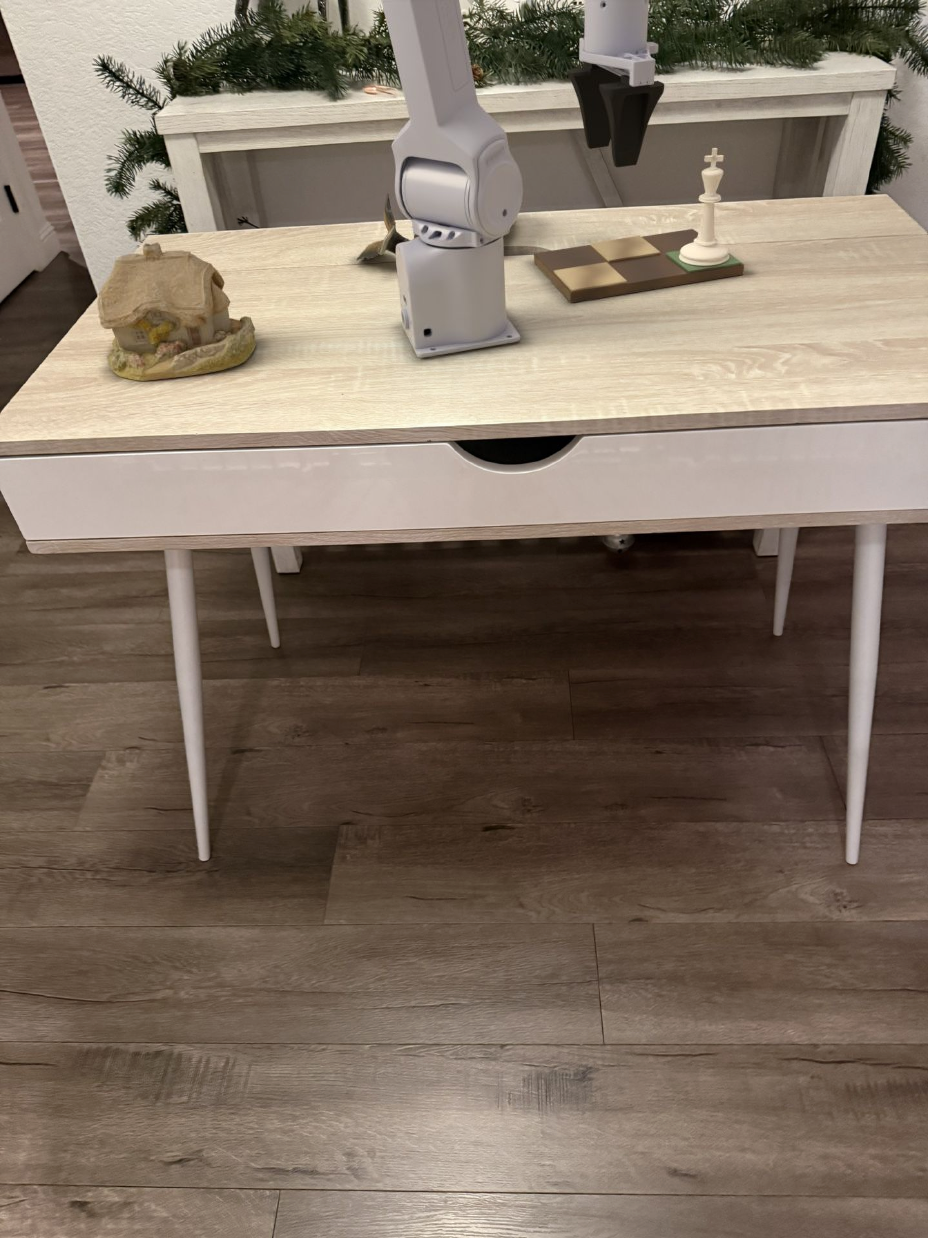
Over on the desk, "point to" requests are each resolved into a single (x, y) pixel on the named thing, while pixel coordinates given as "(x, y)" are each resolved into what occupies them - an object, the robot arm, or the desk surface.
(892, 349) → the desk surface
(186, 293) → the ceramic model
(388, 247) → the brown pointed piece
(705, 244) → the chess piece
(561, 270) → the board
